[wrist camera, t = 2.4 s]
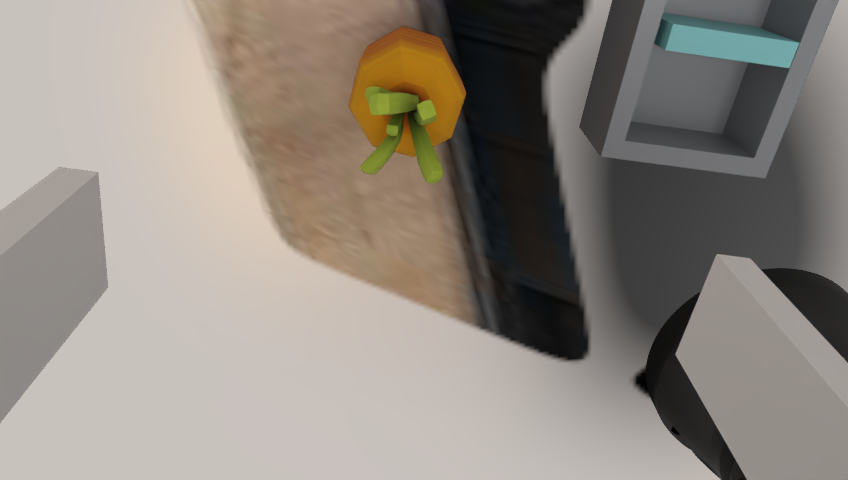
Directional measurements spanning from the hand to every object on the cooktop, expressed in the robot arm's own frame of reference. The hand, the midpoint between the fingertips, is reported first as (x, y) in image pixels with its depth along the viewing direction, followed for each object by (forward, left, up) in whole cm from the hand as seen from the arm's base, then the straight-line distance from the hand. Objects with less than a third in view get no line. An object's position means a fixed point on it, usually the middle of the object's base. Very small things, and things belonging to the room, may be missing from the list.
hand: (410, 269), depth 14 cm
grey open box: (+5, -15, -25) cm, 29 cm away
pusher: (+3, -15, -24) cm, 28 cm away
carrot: (0, 0, -25) cm, 25 cm away
